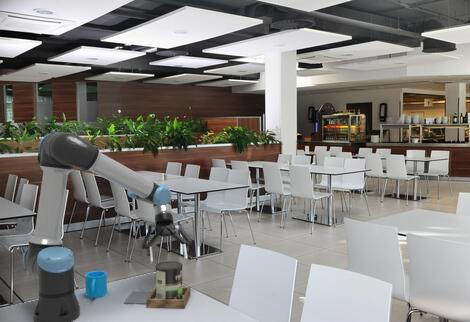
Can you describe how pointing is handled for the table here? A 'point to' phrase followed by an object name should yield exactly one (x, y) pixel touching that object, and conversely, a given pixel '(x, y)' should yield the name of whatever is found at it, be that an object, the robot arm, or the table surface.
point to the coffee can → (169, 280)
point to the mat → (137, 297)
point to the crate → (168, 300)
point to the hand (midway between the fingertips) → (169, 261)
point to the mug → (96, 284)
